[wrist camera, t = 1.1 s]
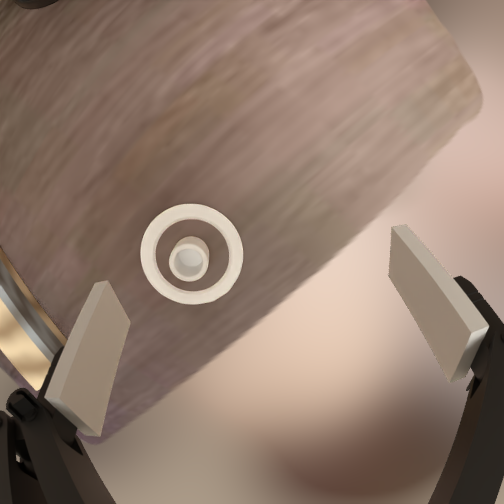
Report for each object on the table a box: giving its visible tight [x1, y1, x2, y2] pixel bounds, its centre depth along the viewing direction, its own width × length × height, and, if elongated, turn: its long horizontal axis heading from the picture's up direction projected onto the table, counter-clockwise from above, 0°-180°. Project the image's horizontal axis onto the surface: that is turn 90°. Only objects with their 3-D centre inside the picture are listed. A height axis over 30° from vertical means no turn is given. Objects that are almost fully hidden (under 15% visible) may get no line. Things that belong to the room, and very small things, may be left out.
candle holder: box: [140, 204, 243, 304], centre depth 35 cm, size 12×12×4 cm
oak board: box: [0, 247, 67, 391], centre depth 34 cm, size 21×12×4 cm, turn 34°
